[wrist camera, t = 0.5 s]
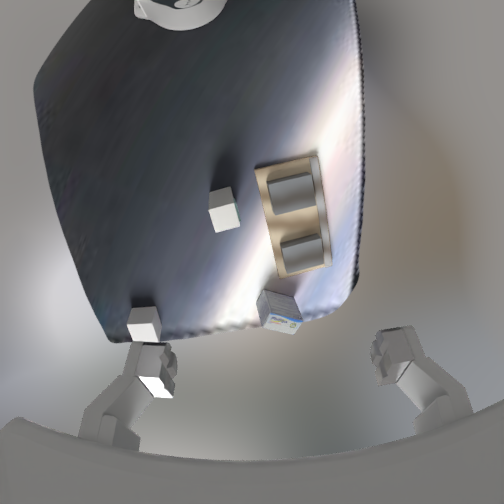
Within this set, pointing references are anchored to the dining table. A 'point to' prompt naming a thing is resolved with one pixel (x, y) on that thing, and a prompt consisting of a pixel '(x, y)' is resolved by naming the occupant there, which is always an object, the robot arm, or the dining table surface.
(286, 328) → the medicine box
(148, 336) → the white cube
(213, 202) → the block
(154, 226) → the dining table surface
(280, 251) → the mounting board
